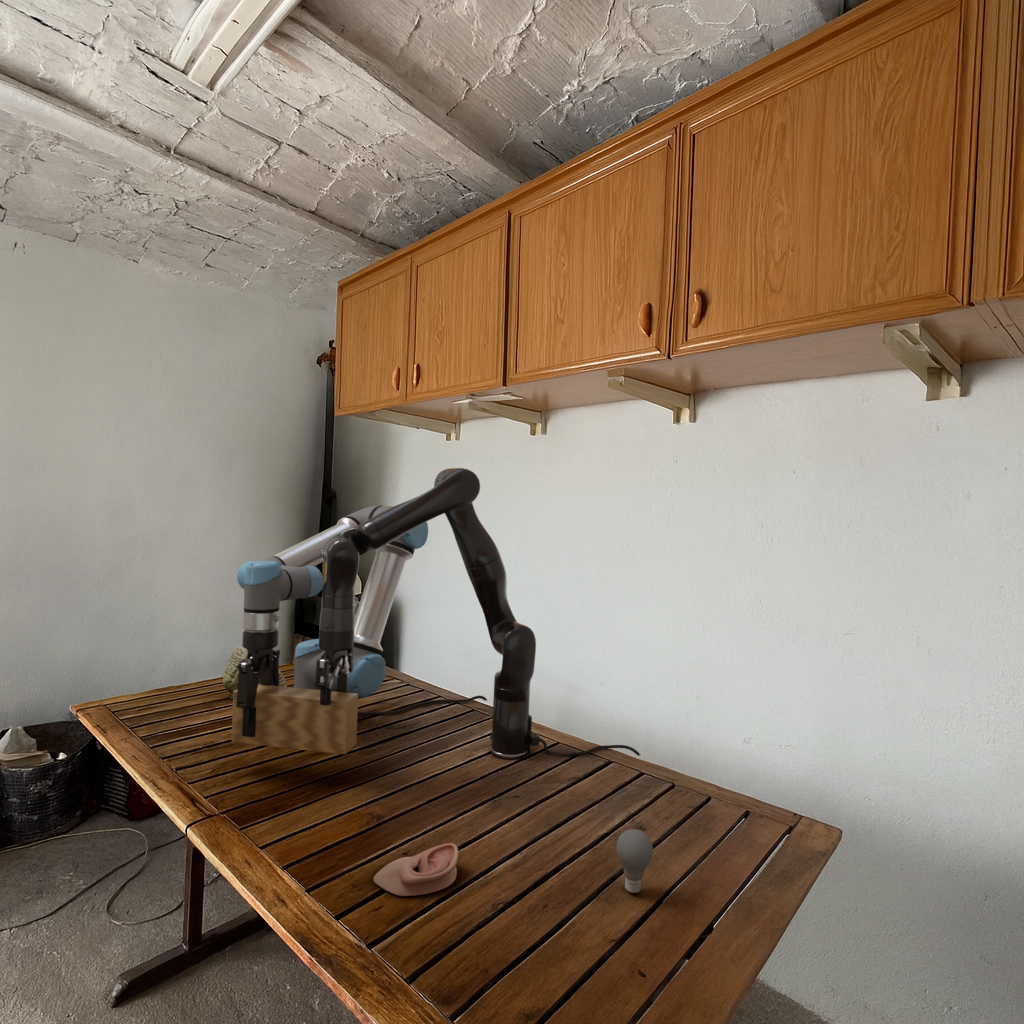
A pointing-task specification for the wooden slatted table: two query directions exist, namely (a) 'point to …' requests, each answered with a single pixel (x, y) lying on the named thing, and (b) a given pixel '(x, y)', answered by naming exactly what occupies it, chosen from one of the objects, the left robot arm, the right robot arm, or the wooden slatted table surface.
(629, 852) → the light bulb
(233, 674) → the fossil
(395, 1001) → the wooden slatted table surface
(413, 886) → the anatomical model
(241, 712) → the box
